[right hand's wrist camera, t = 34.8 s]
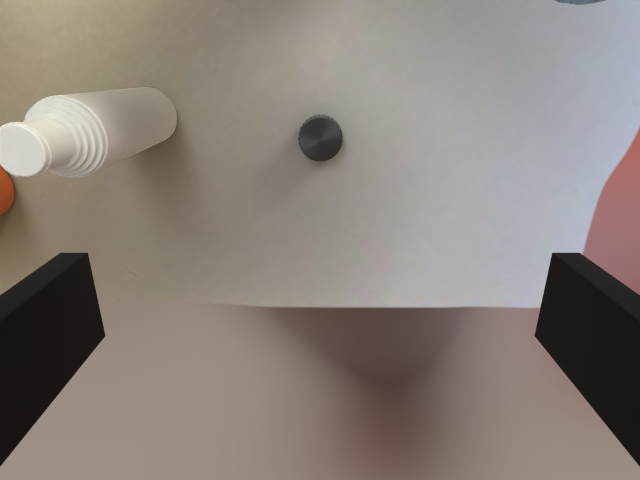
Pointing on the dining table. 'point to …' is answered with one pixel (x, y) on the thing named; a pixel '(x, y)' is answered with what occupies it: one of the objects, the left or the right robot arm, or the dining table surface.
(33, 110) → the bottle
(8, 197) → the cup with straw
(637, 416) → the right robot arm
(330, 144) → the cap
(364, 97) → the dining table surface
